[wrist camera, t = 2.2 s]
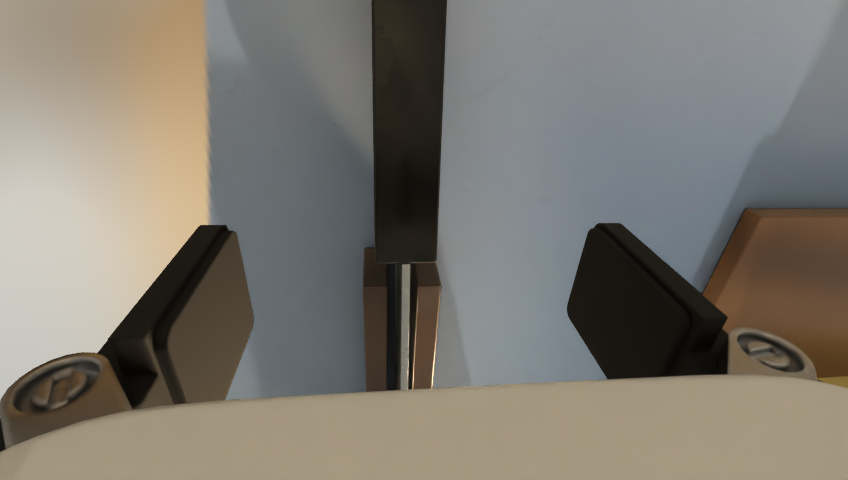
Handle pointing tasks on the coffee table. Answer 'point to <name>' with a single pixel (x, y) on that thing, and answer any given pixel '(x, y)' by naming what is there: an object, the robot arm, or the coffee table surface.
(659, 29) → the coffee table surface
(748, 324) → the board
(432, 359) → the knife holder
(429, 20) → the knife
